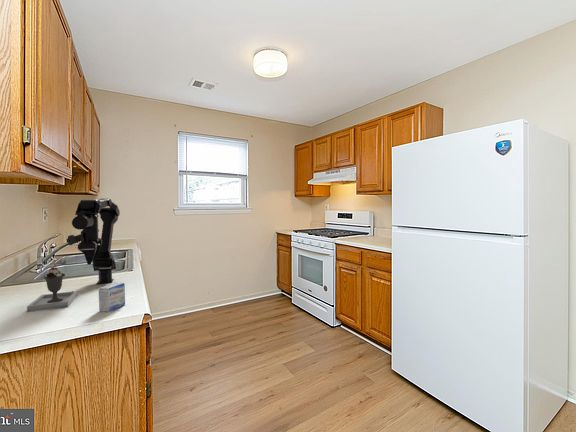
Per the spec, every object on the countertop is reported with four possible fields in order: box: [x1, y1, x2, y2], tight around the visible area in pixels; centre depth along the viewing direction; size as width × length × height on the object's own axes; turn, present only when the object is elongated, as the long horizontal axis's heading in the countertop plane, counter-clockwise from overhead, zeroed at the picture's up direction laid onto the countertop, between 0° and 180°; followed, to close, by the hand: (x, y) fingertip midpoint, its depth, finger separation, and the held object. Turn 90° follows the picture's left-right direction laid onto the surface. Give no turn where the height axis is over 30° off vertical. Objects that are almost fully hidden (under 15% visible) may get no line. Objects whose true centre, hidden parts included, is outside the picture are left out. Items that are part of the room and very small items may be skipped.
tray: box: [26, 290, 78, 313], centre depth 112 cm, size 15×12×2 cm
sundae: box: [43, 262, 66, 303], centre depth 112 cm, size 7×7×15 cm
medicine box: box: [98, 282, 126, 313], centre depth 107 cm, size 8×4×9 cm, turn 168°
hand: (91, 262), depth 127 cm, fingers open, 9 cm apart
